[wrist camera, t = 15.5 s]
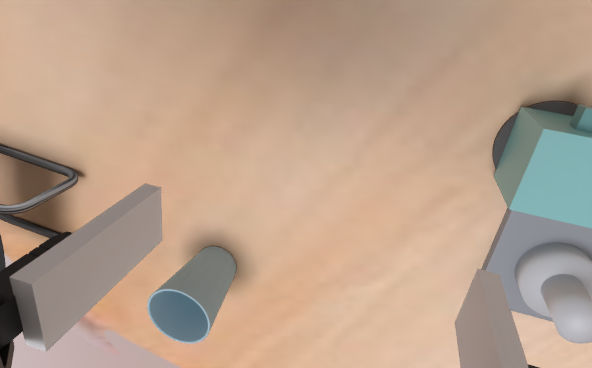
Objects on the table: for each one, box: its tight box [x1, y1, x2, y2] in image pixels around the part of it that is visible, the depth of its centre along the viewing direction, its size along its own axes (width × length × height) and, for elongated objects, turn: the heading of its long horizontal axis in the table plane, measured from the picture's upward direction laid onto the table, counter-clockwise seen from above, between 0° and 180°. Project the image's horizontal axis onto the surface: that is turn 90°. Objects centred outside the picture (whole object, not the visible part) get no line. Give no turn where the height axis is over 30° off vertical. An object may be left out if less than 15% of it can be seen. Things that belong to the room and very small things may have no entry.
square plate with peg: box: [481, 209, 592, 343], centre depth 38 cm, size 12×12×9 cm
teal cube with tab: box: [494, 104, 592, 228], centre depth 33 cm, size 9×7×7 cm
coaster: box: [493, 101, 578, 169], centre depth 37 cm, size 9×9×1 cm
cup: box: [148, 246, 236, 343], centre depth 49 cm, size 8×8×10 cm
